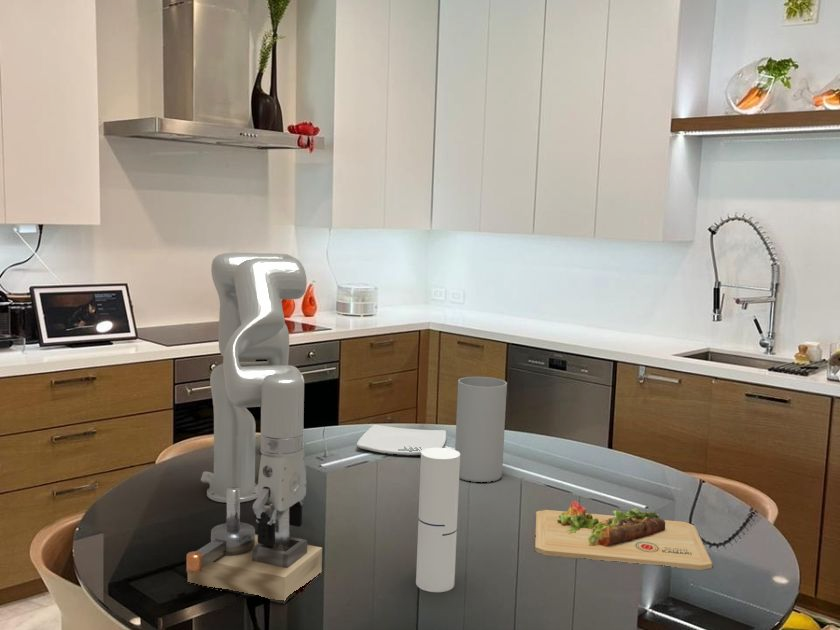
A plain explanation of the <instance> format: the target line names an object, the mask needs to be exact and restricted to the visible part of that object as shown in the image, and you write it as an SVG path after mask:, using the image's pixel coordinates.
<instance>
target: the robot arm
mask: <svg viewBox="0 0 840 630" xmlns="http://www.w3.org/2000/svg"><path fill="white" fill-rule="evenodd" d="M210 270H211V278H212V281H213V284H214V287H215V290H216V292H217V294H218V300H219V314H218V315H219V316H218V317H219V319H218V349H219V352H220V354H221V356H222V357H223V360H222V363H221V364H218V365H216V366H215V367H214V368H213V369H212V370H211V372H210V379H209V380H210V381H209V382H210V383H209V384H210V385H209V386H210V390H211V391H210V392H211V398H212V406H213V472H211V471H203V472H202V475H201V478H200V482H201V483H204V484H206V483H207V484H209V487H208V488H207V490H206V496H207V498H208V499H210V500H212V501H215V502H217V503H226V504H227V488H229V487H239V488H240V503H245V502H250V501H253V500H255V501H254V502H253V504H252V511H253V513H254V515H253V516H254V518H255V522H256V523H257V535H258V543H260V544H265V545H270V546H273V545H274V544H275V523H273V521H274V518H275V516H276V513H277V510H278V511H279V512H282V511H285V510H286V509H288V508H289V526H292V527H297V528H300V527H301V526H302V525H303V505H304V501H305V499H304V498H305V497H306V495H307V481H308V480H307V479H308V478H307V469H306V468H307V467H306V456H305V450H304V418H305V417H304V413H305V411H304V410H305V409H304V408H305V403H304V402H305V379H304V375H303V374H302V373H301V371H300V369H298V368H297V367H296V366H294V365H289V359H290V358H289V357H290V354H289V353H290V334H289V329H288V325H287V324H286V323H285V322H286V321H285V320H286V319H285V315H284V309H283V304H282V300H299V299H301V298H302V297H303V296H304V295H305V293H306V291H307V283H308V281H307V274H306V269H305V267H304V266H303V264H302V262H301V261H300V260H299V259H297V258H296V257H294V256H292V255H290V254H287V253H267V252H266V253H262V252H261V253H257V252H226V253H221V254H220V253H219V254H217V255H216V256H215V257H214V258H213V259H212V263H211V269H210ZM247 360H248V361H247ZM249 360H250V361H249ZM252 360H254V361H252ZM255 360H266V361H255ZM258 407H259V408H260V453H261V455H260V456H261V457H260V460H259V461H260V463H259V469H258V480H257V483H256V430H257V429H256V427H257V426H256V424H257V423H256V420H255V417H254V416H253V414H252V413H251V411H249V410H248V408H258ZM270 504H272V505H273V506H270ZM266 511H268V512H269V515H268V514H267V513H266ZM270 511H271V512H270Z"/></svg>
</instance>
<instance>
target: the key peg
mask: <svg viewBox="0 0 840 630" xmlns="http://www.w3.org/2000/svg"><path fill="white" fill-rule="evenodd" d="M269 506H273V505H272V504H270V505H269ZM270 512H271V511H269V513H270ZM273 523H275V544H274V545H273V546H271V549H275V550H280V551H285V552H286V551H287V550H289V549H290V545H289V537H290V525H289V508H288V509H286V510H285V511H282V512H279V511H278V510H277V513H276V516H275V518H274V521H273Z"/></svg>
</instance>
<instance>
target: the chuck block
mask: <svg viewBox="0 0 840 630" xmlns="http://www.w3.org/2000/svg"><path fill="white" fill-rule="evenodd" d="M289 545H290V549H289V550H287V551H286V552H285V551H280V550H275V549H271V546H270V545H265V544H260V543H258V534H256V533H255V546H254V547H253V548H252V550H250V551H248V552H245V553H241V554H232V555H228V554H223V555H222V556H220V557H219V558H217V559H215V560H214V561H212V562H211V563H209V564H208V565H206V566H205V567H203V568H202V572H200V573H198V574H189V573H187V583H188V582H190V583H189V584H191V583H195V584H194V585H196V584H198V585H197V586H200V585H202V586H201V587H204V586H207V587H206V588H209V587H213V588H214V587H215V588H222V589H229V590H233V591H239V592H244V593H248V594H254V595H259V596H261V597H265V598H268V599H275V600H284V601H285V600H286V598H287V597H288V596H289V595H290V594H292V593H293V592H294V591H296V590H298V589H299V588H300V587H302V586H304V585H305V584H306V583H308V582H309V581H310V580H312V579H313V578H314V577H316V576H317V575H318V574H319V573H321V572H322V570H323V567H322V566H323V565H322V564H323V547H321V546H315V545H311V544H308V539H304V538H303V539H302V538H297V537H294V536H289ZM322 573H323V572H322ZM322 573H321V574H322ZM317 577H318V576H317ZM317 577H316V578H317ZM213 588H212V589H213Z"/></svg>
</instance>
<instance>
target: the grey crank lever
mask: <svg viewBox="0 0 840 630" xmlns="http://www.w3.org/2000/svg"><path fill="white" fill-rule="evenodd" d="M240 516H241V502H240V488H239V487H229V488H227V503H226V522H225V523H221V524H218V525H215V526H213V527H212V529H211V530H210V542H209V543H207V544H205V545H204V546H202V547H200V548H199V549H197V550H195V551H194V550H193V551H189V552H188V553H186V573H187V574H188V573H189V574H198V573H200V572H202V568H203V567H205V566H206V565H208V564H209V563H211V562H212V561H214V560H215V559H217V558H219V557H220V556H222V555H223V554H228V555H232V554H241V553H245V552H248V551H250V550H252V548H253V547H254V546H255V534H256V528H255V527H254V526H253V525H252V524H249V523H246V522H241V520H240V519H241V517H240Z"/></svg>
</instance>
